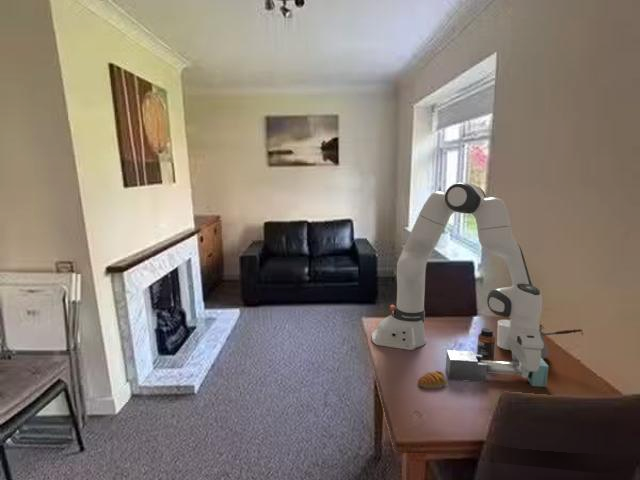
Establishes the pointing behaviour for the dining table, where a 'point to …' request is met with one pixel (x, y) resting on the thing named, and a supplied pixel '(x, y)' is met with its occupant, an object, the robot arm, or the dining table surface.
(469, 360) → the sleeve
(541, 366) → the socket
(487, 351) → the supplement bottle
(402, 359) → the dining table surface
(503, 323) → the white cup
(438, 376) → the pastry
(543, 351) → the coffee pot
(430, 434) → the dining table surface
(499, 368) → the tube
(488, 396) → the dining table surface
